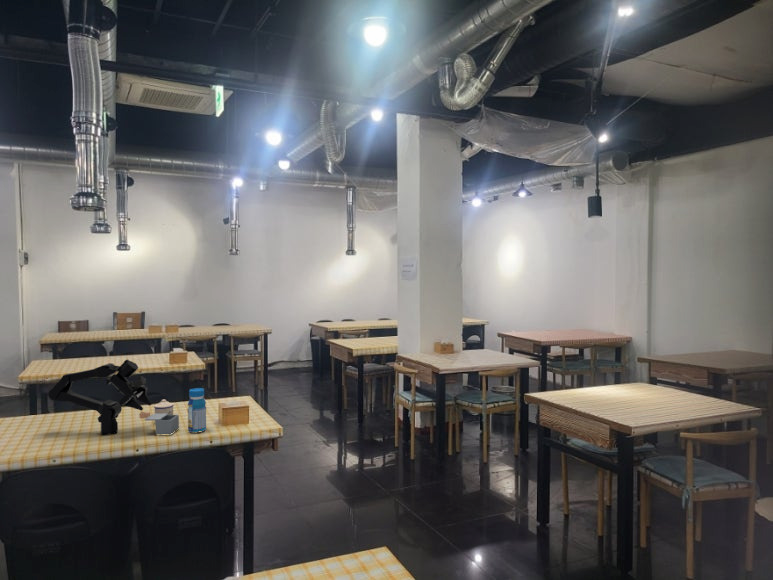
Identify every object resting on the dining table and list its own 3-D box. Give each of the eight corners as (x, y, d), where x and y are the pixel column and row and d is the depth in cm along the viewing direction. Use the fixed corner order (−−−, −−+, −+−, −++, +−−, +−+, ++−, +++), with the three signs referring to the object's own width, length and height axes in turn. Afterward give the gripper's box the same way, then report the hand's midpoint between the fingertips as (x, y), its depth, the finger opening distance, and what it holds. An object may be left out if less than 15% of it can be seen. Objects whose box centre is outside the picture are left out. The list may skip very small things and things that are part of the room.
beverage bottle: (200, 434, 243) (199, 391, 243) (184, 433, 245) (183, 391, 244) (209, 429, 251) (209, 388, 251) (194, 428, 253) (193, 387, 253)
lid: (135, 420, 241) (135, 415, 241) (145, 414, 251) (145, 409, 251) (159, 420, 241) (159, 415, 241) (168, 414, 251) (168, 409, 251)
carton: (155, 435, 241) (155, 420, 241) (164, 429, 251) (164, 414, 251) (171, 435, 241) (170, 420, 241) (178, 429, 251) (178, 414, 251)
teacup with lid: (169, 425, 258) (169, 401, 258) (151, 425, 258) (150, 402, 257) (178, 418, 270) (178, 396, 270) (160, 418, 270) (160, 396, 269)
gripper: (125, 376, 236) (150, 399, 236) (143, 368, 254) (166, 390, 255) (108, 393, 236) (133, 417, 236) (127, 384, 254) (150, 406, 255)
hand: (146, 407), depth 246 cm, fingers open, 9 cm apart
